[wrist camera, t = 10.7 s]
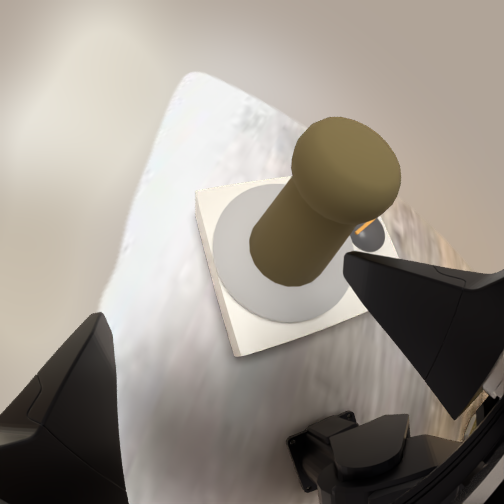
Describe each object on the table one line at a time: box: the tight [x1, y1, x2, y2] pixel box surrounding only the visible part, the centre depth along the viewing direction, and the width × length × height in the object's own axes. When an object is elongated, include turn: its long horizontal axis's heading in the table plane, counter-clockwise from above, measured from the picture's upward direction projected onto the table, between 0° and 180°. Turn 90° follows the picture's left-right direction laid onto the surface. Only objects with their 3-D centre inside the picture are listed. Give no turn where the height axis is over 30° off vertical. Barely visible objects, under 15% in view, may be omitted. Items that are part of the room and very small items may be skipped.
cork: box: [249, 117, 401, 287], centre depth 15 cm, size 6×6×11 cm
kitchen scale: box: [195, 176, 399, 357], centre depth 23 cm, size 13×16×5 cm
